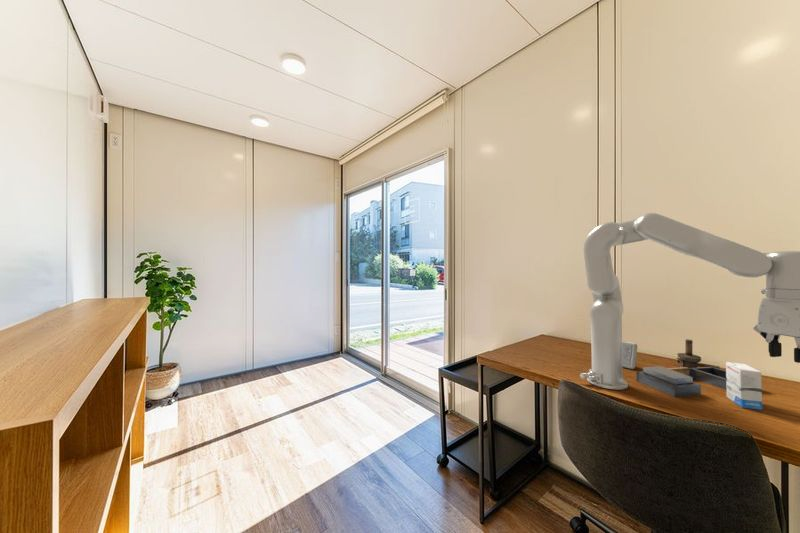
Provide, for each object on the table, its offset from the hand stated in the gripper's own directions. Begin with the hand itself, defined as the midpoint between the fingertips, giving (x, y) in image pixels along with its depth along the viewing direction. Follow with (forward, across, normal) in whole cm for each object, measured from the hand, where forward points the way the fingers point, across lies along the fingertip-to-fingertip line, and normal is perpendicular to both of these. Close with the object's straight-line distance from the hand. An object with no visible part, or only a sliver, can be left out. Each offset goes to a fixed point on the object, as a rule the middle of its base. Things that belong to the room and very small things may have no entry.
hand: (787, 358), depth 84 cm
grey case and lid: (+17, -24, 0) cm, 30 cm away
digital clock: (+18, -49, -9) cm, 53 cm away
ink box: (+18, -10, 0) cm, 20 cm away
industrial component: (+18, -39, +17) cm, 46 cm away
